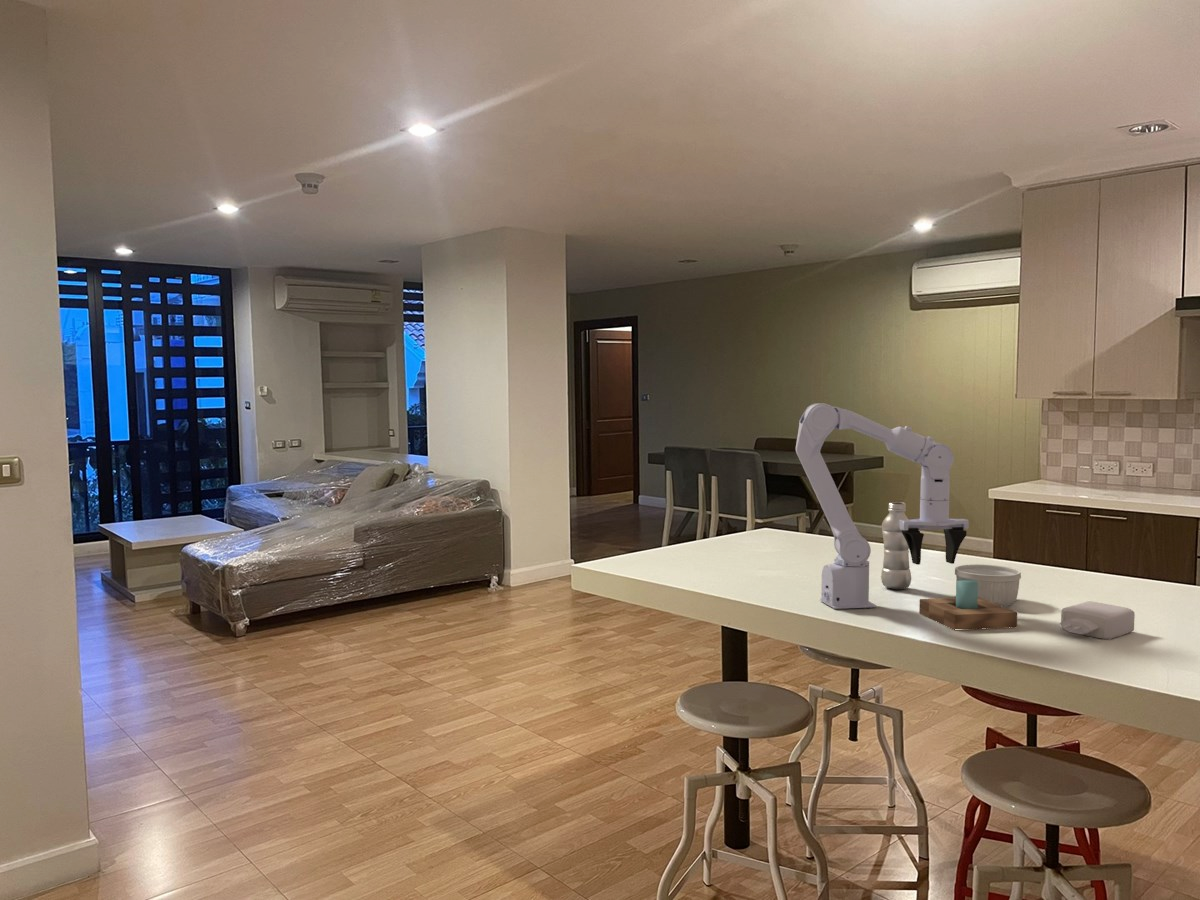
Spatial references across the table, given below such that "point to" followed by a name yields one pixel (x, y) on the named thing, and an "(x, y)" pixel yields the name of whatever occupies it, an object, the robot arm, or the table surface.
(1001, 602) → the ramekin
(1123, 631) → the charger
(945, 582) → the table surface
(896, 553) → the plastic bottle
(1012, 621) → the socket
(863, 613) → the table surface
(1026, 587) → the table surface
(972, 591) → the peg
